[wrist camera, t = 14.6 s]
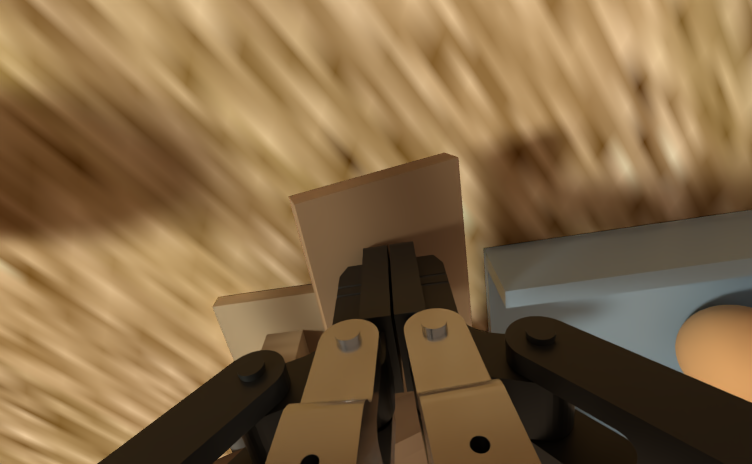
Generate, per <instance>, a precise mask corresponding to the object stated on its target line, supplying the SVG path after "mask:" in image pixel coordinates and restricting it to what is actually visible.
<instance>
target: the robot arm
mask: <svg viewBox="0 0 752 464" xmlns="http://www.w3.org/2000/svg"><path fill="white" fill-rule="evenodd" d="M389 248H390V257H389V252H388V247H387V245H383V246H376V247H369V248H363V258H362V265H357V266H349V267H347V268H346V270H345V271H344V272H343V273H342V275H341V276H340V278H339V284H338V291H337V298H336V304H335V311H334V317H333V324H332V326H331V327H329V328H328V329H327V330H326V331H325V332H324V333H323V334H322V335H321V337H320V339H319V342H318V345H317V349H316V351H314V352H312V353H310V354H308V355H306V356H304V357H301V358H298V359H295V360H293V361H290V362H287V363H285V361H284V358H283V357H282V355H281V354H279V353H278V352H275V351H272V350H259V351H254V352H251V353H248V354H246V355H244V356H242V357H240V358H238V359H237V360H235V361H234V362H233V363H231V364H230V365H229V366H227V367H226V368H225V369H223V370H222V371H221V372H219V373H218V374H217V375H215V376H214V377H213V378H211V379H210V380H209V381H207V382H206V383H205V384H203V385H202V386H201V387H199V388H198V389H197V390H195V391H194V392H193V393H191V394H190V395H189V396H187V397H186V398H185V399H183V400H182V401H181V402H179V403H178V404H177V405H175V406H174V407H173V408H171V409H170V410H169V411H167V412H166V413H165V414H163V415H162V416H161V417H159V418H158V419H157V420H155V421H154V422H153V423H151V424H150V425H149V426H147V427H146V428H145V429H143V430H142V431H141V432H139V433H138V434H137V435H135V436H134V437H133V438H131V439H130V440H129V441H127V442H126V443H125V444H123V445H122V446H121V447H119V448H118V449H117V450H115V451H114V452H113V453H111V454H110V455H109V456H107V457H106V458H105V459H103V460H102V461H101V462H99V463H98V464H213V463H214V462H215V461H216V460H217V459H218V458H219V457H220V456H221V455H222V454H224V453H225V452H226V451H227V450H228V449H229V448H230V447H231V446H232V445H233V444H235V443H236V442H237V441H238V440H239V439H240V438H241V437H242V439H243V441H244V444H245V446H246V447H245V448H243V449H242V450H241V451H240V452H239V453H238V454H237V455H236V456H235V457H234V458H233V459H232V460H231V461H230V462H228V463H227V464H394V463H395V435H396V418H395V413H394V411H395V393H403V392H404V384H403V371H402V365H403V370H404V376H405V382H406V388H407V392H410V391H414V396H415V402H416V409H417V415H418V421H419V426H420V431H421V435H422V440H423V445H424V450H425V455H426V460H427V464H752V403H751V402H749V401H747V400H744V399H742V398H740V397H737V396H735V395H733V394H730V393H728V392H726V391H723V390H721V389H718V388H716V387H714V386H711V385H709V384H707V383H704V382H702V381H700V380H697V379H695V378H693V377H690V376H688V375H686V374H683V373H681V372H679V371H676V370H674V369H672V368H669V367H667V366H665V365H662V364H660V363H658V362H655V361H653V360H651V359H648V358H646V357H644V356H641V355H639V354H637V353H634V352H632V351H629V350H627V349H625V348H622V347H620V346H618V345H615V344H613V343H611V342H608V341H606V340H604V339H601V338H599V337H597V336H594V335H592V334H590V333H587V332H585V331H583V330H580V329H578V328H576V327H573V326H571V325H569V324H566V323H564V322H562V321H559V320H556V319H553V318H549V317H544V316H529V317H524V318H520V319H518V320H516V321H514V322H512V323H511V324H510V325H509V326H508V328H507V329H506V332H505V334H501V333H491V332H485V331H481V330H477V329H475V328H473V327H471V326H469V325H467V324H466V322H465V320H464V319H463V318H462V317H461V316H460V315H459V314H458V310H457V307H456V304H455V300H454V297H453V294H452V291H451V287H450V284H449V281H448V277H447V274H446V271H445V267H444V264H443V262H442V261H441V260H439V259H438V258H437V257H436V256H434V255H427V256H420V257H416V254H415V248H414V243H413V241H410V242H404V243H397V244H390V245H389ZM575 406H576V407H577V408H579V409H581V410H583V411H584V412H586V413H588V414H590V415H591V416H593V417H595V418H597V419H598V420H600V421H602V422H604V423H605V424H607V425H609V426H610V427H612V428H614V429H616V430H617V431H619V432H620V433H622V434H623V435H624V436H625V437H626V438H627V439H626V438H625V437H623V436H621V435H620V434H618V433H616V432H614V431H613V430H611V429H609V428H607V427H606V426H604V425H602V424H601V423H599V422H597V421H595V420H594V419H592V418H590V417H588V416H587V415H585V414H583V413H582V412H580V411H578V410H576V409H575Z"/></svg>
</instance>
